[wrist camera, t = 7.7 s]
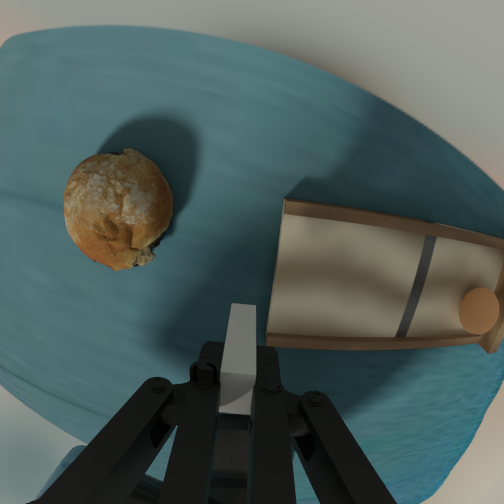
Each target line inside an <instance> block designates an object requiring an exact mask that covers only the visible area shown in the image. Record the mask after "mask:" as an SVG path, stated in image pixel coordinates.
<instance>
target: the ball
mask: <svg viewBox="0 0 504 504" xmlns="http://www.w3.org/2000/svg"><path fill="white" fill-rule="evenodd" d="M498 316H499V302H498V299H497V297H496V295H495V294H494V293H493V292H492V291H491V290H489V289H487V288H483V287H479V288H475V289H473V290H471V291H469V292H468V293H467V294H466V295H465V297H464V298H463V300H462V302H461V305H460V309H459V318H460V321H461V324H462V326H463V327H464V329H465V330H466V331H468V332H469V333H471V334H475V335H479V334H484V333H486V332H488V331H489V330H490V329H491V328H492V327H493V326H494V325H495V323H496V321H497V319H498Z"/></svg>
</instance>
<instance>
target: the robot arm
mask: <svg viewBox="0 0 504 504" xmlns="http://www.w3.org/2000/svg"><path fill="white" fill-rule="evenodd" d="M219 412H223V413H233V414H245V415H250V417H246V416H220V417H218V413H219ZM176 425H178V427H177V431H176V435H175V439H174V442H173V446H172V450H171V454H170V458H169V462H168V466H167V470H166V474H165V478H164V482H163V481H161V480H158V479H156V478H154V477H151V476H149V475H147V474H145V472H146V471H147V470H148V468H149V467H150V465H151V464H152V462H153V461H154V459H155V458H156V456H157V455H158V453H159V452H160V450H161V449H162V447H163V446H164V444H165V442H166V441H167V439H168V438H169V436H170V435H171V433H172V432H173V430H174V429H175V427H176ZM294 448H295V450H296V452H297V454H298V457H299V459H300V461H301V463H302V465H303V468H304V470H305V472H306V474H307V476H308V479H309V481H310V483H311V485H312V487H313V489H314V491H315V494H316V496H317V498H318V500H319V502H320V504H397V503H396V501H395V500H394V498H393V497H392V495H391V494H390V492H389V491H388V489H387V488H386V486H385V485H384V483H383V482H382V480H381V479H380V477H379V476H378V474H377V473H376V471H375V469H374V468H373V466H372V465H371V463H370V462H369V460H368V459H367V457H366V456H365V454H364V453H363V451H362V449H361V448H360V446H359V445H358V443H357V442H356V440H355V439H354V437H353V435H352V434H351V432H350V431H349V429H348V428H347V426H346V424H345V423H344V421H343V420H342V418H341V417H340V415H339V414H338V412H337V410H336V409H335V407H334V406H333V404H332V402H331V401H330V399H329V398H328V397H327V396H326V395H325V394H323V393H321V392H318V391H309V392H306V393H304V394H303V395H302V396H299V395H295V394H292V393H290V392H288V391H286V390H285V389H284V387H283V386H282V385H281V379H280V370H279V361H278V352H277V351H276V350H275V348H274V347H273V346H259V345H256V305H247V304H237V303H232V305H231V311H230V317H229V323H228V329H227V335H226V341H225V343H222V342H213V341H207V342H206V343H205V344H204V345H203V346H202V349H201V353H200V357H199V360H198V361H196V362H194V363H193V364H192V365H191V366H190V381H188V382H186V383H183V384H173V385H172V383H171V382H170V381H169V380H167V379H165V378H162V377H153V378H150V379H148V380H146V381H145V382H144V383H143V384H142V385H141V387H140V388H139V389H138V390H137V391H136V392H135V393H134V394H133V395H132V397H131V398H130V399H129V400H128V401H127V402H126V403H125V404H124V405H123V407H122V408H121V409H120V410H119V411H118V412H117V413H116V414H115V415H114V417H113V418H112V419H111V420H110V421H109V422H108V423H107V424H106V425H105V427H104V428H103V429H102V430H101V431H100V432H99V433H98V434H97V435H96V436H95V438H94V439H93V440H92V441H91V442H90V443H89V444H88V445H87V446H85V445H80V446H76V447H74V448H72V449H71V450H70V451H69V453H68V454H67V455H66V456H65V457H64V459H63V460H62V461H61V463H60V464H59V465H58V467H57V468H56V469H55V471H54V472H53V474H52V475H51V476H50V478H49V479H48V481H47V482H46V483H45V485H44V486H43V488H42V489H41V491H40V493H39V494H38V496H37V497H36V499H35V500H34V501H31V502H29V503H26V504H296V494H295V484H294V474H293V464H292V461H293V458H294Z"/></svg>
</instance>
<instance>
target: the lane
mask: <svg viewBox="0 0 504 504" xmlns="http://www.w3.org/2000/svg"><path fill="white" fill-rule="evenodd" d="M479 287H483V288H487V289H489V290H491V291H492V292H493V293H494V294H495V295H496V297H497V299H498V302H499V316H498V319H497V321H496V323H495V325H494V326H493V327H492V328H491V329H490V330H489V331H488V332H486V333H484V334H479V335H475V334H471V333H469V332H468V331H466V330H465V329H464V327H463V326H462V324H461V321H460V318H459V309H460V305H461V302H462V300H463V298H464V297H465V295H466V294H467V293H468V292H469V291H471V290H473V289H475V288H479ZM265 336H266V346H273V347H281V348H298V349H320V350H397V349H418V348H433V347H445V346H456V345H465V344H474V343H478V344H479V345H480V346H481V347H482V348H483V349H484V350H485V351H486V352H487V353H488V354H489V353H494V352H497V350H498V348H499V346H500V344H501V341H502V339H503V337H504V239H503V238H499V237H495V236H491V235H487V234H483V233H479V232H475V231H471V230H467V229H462V228H458V227H454V226H449V225H445V224H440V223H435V222H430V221H426V220H421V219H416V218H411V217H405V216H400V215H395V214H389V213H383V212H378V211H372V210H366V209H360V208H353V207H347V206H340V205H334V204H327V203H320V202H312V201H305V200H297V199H289V198H284V203H283V211H282V219H281V227H280V235H279V242H278V250H277V257H276V265H275V272H274V279H273V286H272V293H271V300H270V307H269V314H268V321H267V327H266V334H265Z"/></svg>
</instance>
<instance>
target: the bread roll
mask: <svg viewBox="0 0 504 504" xmlns="http://www.w3.org/2000/svg"><path fill="white" fill-rule="evenodd" d="M172 212H173V194H172V192H171V190H170V187H169V185H168V183H167V180H166V179H165V178H164V176H163V175H162V173H161V171H160V169H159V168H158V166H157V165H156V164H155V163H154V162H153V161H152V160H150V159H148V158H147V157H145V156H144V155H143V154H141V153H139V152H138V151H136V150H134V149H131V148H127V149H123V153H116V152H110V153H108V154H98V155H93V156H91V157H89V158H87V159H85V160H84V161H82V162H81V163H80V164H79V165H78V166H77V167H76V168H75V169H74V171H73V172H72V174H71V176H70V178H69V180H68V183H67V186H66V188H65V193H64V217H65V223H66V226H67V230H68V233H69V235H70V237H71V238H72V239H73V241H74V242H75V244H76V245H77V246H78V247H79V248H80V250H81V251H82V252H83V253H84V254H85V255H86V256H88V257H89V258H90V259H92V260H94V262H99V263H101V264H104V265H106V266H108V267H110V268H111V269H112V270H114V271H118V270H122V269H131V267H132V266H135V267H136V266H143V265H146V264H147V263H149V262H151V261H153V258H154V257H155V254H153V252H151V248H155V247H157V246H159V245H160V241H161V234H162V233H163V232H164V231H166V230H167V228H168V226H169V223H170V220H171V217H172V216H173V213H172Z"/></svg>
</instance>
